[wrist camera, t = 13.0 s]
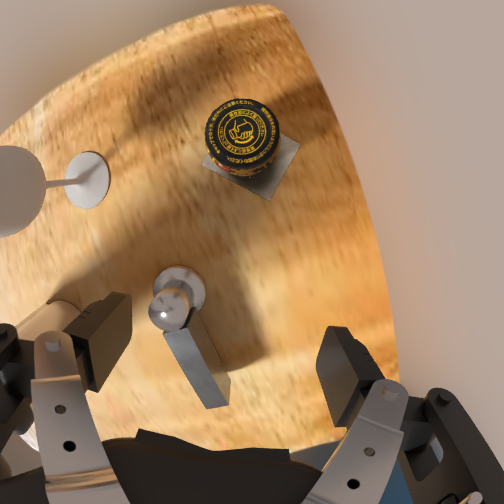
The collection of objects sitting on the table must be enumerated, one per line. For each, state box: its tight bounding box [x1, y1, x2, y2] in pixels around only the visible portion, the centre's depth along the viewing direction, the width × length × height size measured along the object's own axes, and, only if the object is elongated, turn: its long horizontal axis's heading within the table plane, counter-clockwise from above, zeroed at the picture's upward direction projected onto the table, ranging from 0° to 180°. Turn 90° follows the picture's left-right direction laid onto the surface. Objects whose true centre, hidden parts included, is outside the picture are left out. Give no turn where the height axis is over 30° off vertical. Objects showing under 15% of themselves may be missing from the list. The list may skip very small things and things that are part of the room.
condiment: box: [201, 99, 301, 201], centre depth 24 cm, size 7×8×12 cm
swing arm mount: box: [153, 265, 206, 311], centre depth 33 cm, size 6×6×1 cm
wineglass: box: [0, 146, 109, 238], centre depth 20 cm, size 8×8×21 cm
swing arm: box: [148, 279, 231, 409], centre depth 31 cm, size 16×4×5 cm, turn 18°
